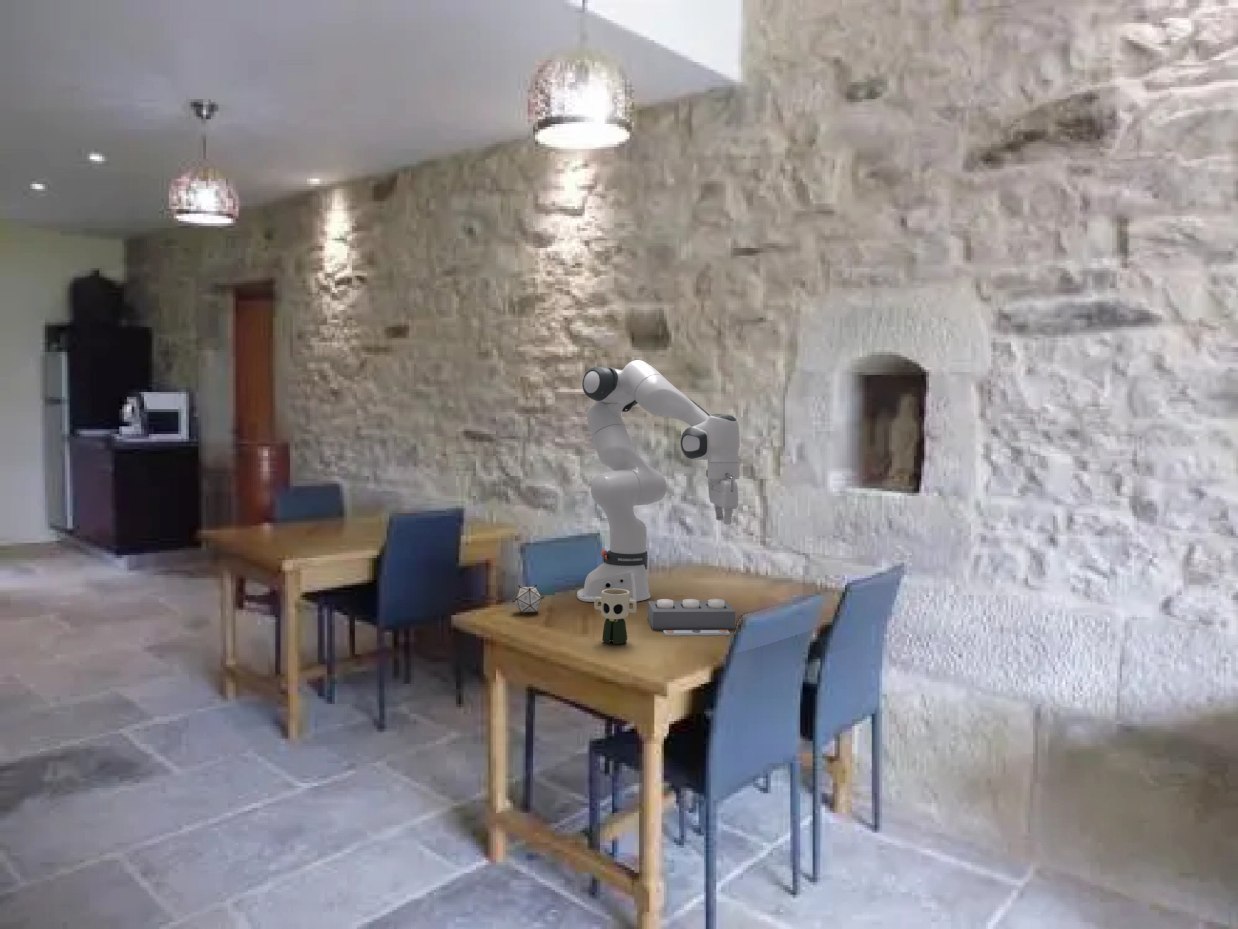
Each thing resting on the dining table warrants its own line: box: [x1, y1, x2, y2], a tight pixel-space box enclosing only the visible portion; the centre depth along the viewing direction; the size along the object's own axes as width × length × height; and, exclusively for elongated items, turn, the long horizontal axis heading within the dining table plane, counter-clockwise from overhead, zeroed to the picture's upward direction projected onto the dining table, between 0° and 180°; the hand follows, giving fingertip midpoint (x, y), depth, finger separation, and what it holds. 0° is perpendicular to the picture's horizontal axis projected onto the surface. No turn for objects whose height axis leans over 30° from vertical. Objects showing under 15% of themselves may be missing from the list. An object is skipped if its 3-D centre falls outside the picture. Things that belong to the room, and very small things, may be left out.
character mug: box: [593, 589, 638, 645], centre depth 223 cm, size 11×7×13 cm, turn 75°
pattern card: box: [662, 630, 731, 637], centre depth 233 cm, size 17×3×1 cm, turn 95°
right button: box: [707, 598, 726, 608], centre depth 243 cm, size 4×4×3 cm
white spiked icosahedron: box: [511, 584, 545, 615], centre depth 251 cm, size 9×8×10 cm
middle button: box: [682, 598, 700, 609], centre depth 242 cm, size 4×4×3 cm
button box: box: [646, 600, 736, 631], centre depth 242 cm, size 22×12×5 cm, turn 95°
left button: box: [656, 598, 674, 609], centre depth 241 cm, size 4×4×3 cm
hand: (723, 522), depth 249 cm, fingers open, 8 cm apart
